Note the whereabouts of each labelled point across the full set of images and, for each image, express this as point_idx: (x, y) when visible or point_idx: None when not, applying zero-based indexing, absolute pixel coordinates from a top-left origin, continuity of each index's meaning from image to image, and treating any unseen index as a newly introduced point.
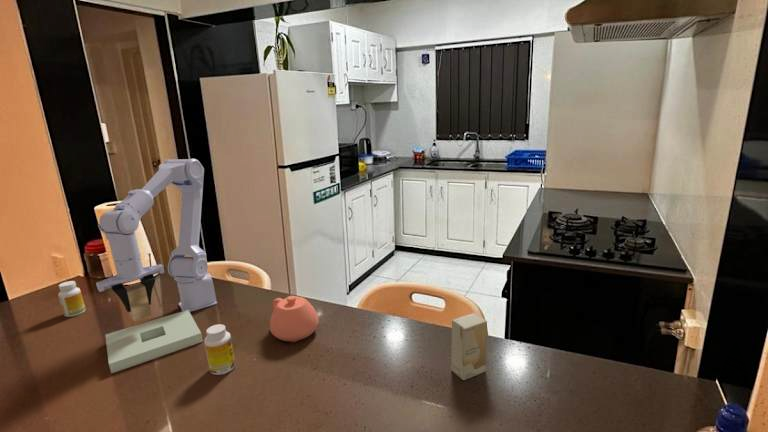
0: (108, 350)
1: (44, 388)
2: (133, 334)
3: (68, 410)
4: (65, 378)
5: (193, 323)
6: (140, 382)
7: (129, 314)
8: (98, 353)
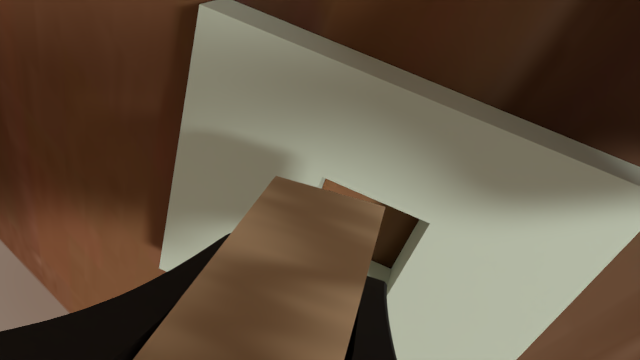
0: (177, 182)
1: (15, 122)
2: (297, 158)
3: (77, 280)
4: (66, 128)
5: (519, 341)
6: None
7: (270, 184)
8: (175, 61)
